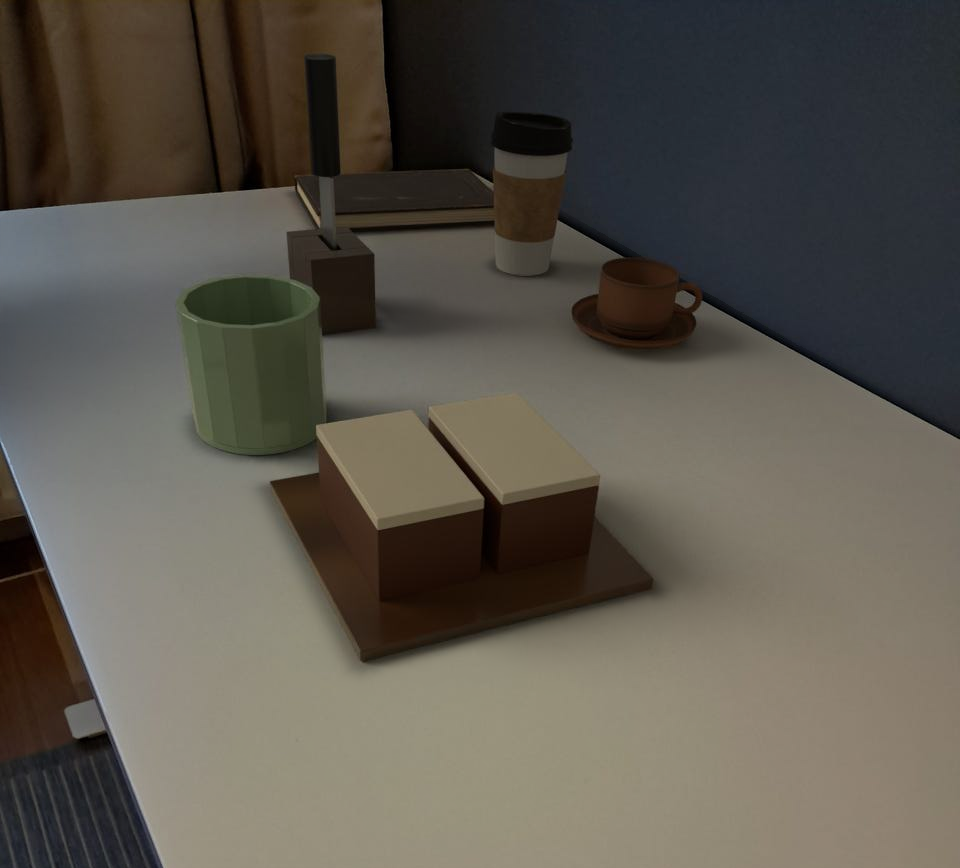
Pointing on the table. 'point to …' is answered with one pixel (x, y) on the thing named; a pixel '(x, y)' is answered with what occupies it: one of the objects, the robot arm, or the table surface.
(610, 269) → the cup and saucer
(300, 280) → the knife block
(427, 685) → the table surface
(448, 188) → the hardcover book
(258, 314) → the cup
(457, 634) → the cake board
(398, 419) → the block
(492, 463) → the cake slice
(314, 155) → the knife
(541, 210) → the coffee cup
